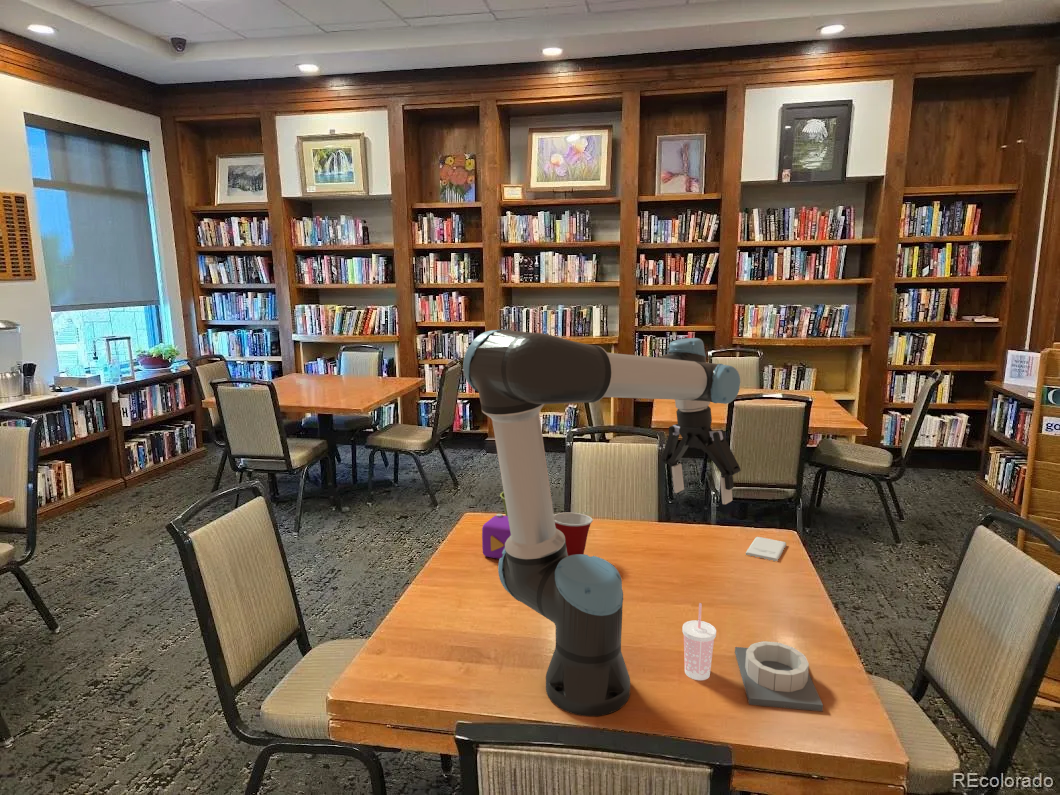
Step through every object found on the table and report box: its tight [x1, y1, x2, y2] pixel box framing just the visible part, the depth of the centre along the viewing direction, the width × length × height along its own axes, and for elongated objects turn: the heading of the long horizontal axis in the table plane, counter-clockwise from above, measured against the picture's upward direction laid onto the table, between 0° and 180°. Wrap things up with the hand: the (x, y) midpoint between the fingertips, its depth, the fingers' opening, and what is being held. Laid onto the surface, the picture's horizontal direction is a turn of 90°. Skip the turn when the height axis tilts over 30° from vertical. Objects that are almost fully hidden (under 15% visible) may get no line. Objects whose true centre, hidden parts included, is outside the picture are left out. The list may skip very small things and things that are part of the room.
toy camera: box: [481, 513, 511, 560], centre depth 171 cm, size 11×14×10 cm
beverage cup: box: [681, 602, 717, 681], centre depth 118 cm, size 6×6×14 cm
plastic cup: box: [554, 512, 594, 556], centre depth 167 cm, size 11×11×12 cm
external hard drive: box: [745, 536, 787, 562], centre depth 173 cm, size 2×8×12 cm
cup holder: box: [734, 640, 824, 712], centre depth 116 cm, size 12×16×4 cm
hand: (702, 496), depth 146 cm, fingers open, 13 cm apart
